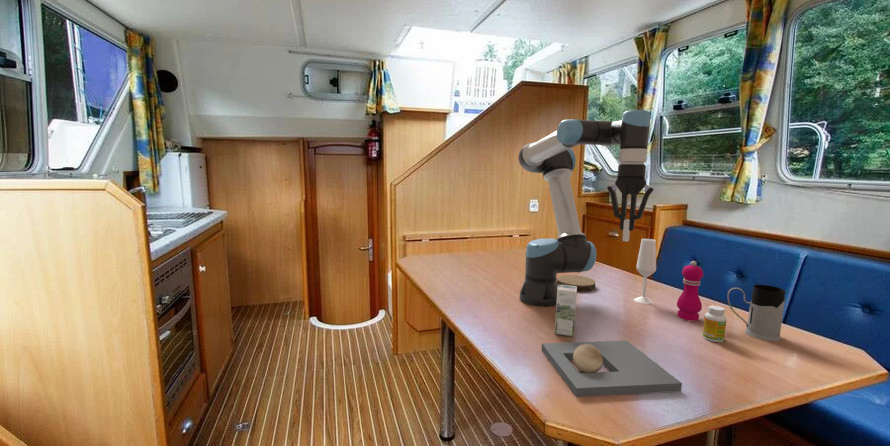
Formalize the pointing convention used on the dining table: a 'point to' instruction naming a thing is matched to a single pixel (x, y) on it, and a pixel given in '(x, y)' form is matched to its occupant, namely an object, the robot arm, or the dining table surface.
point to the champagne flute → (646, 265)
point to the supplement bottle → (714, 324)
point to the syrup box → (565, 310)
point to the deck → (621, 359)
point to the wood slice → (577, 282)
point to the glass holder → (764, 312)
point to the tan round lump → (587, 358)
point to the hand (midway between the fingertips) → (625, 240)
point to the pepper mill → (690, 293)
